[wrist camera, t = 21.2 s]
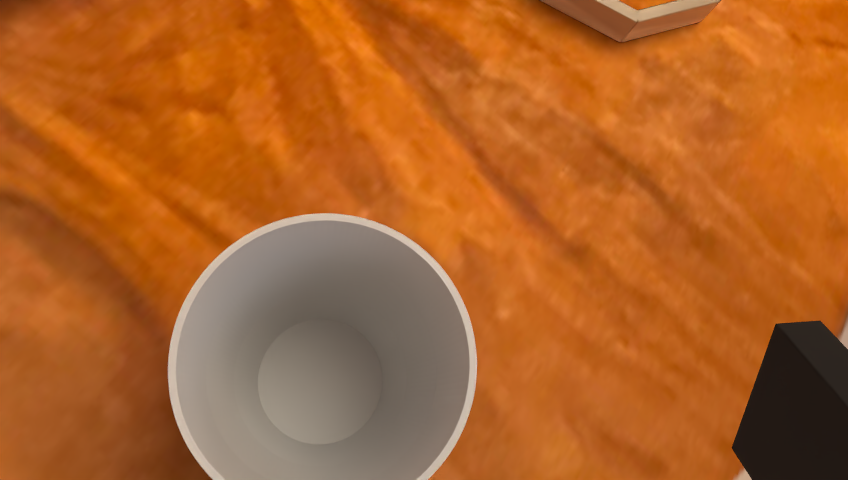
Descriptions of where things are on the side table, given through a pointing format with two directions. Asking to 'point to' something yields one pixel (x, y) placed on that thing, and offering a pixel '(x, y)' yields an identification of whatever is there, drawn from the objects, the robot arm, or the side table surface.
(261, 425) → the cup
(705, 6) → the holder ring
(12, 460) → the side table surface
